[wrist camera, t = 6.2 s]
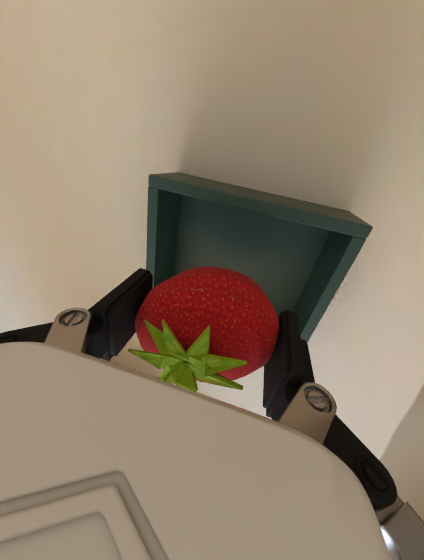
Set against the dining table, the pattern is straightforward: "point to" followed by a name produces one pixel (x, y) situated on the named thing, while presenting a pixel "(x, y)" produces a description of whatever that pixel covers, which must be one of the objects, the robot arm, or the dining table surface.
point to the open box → (253, 240)
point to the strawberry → (206, 327)
